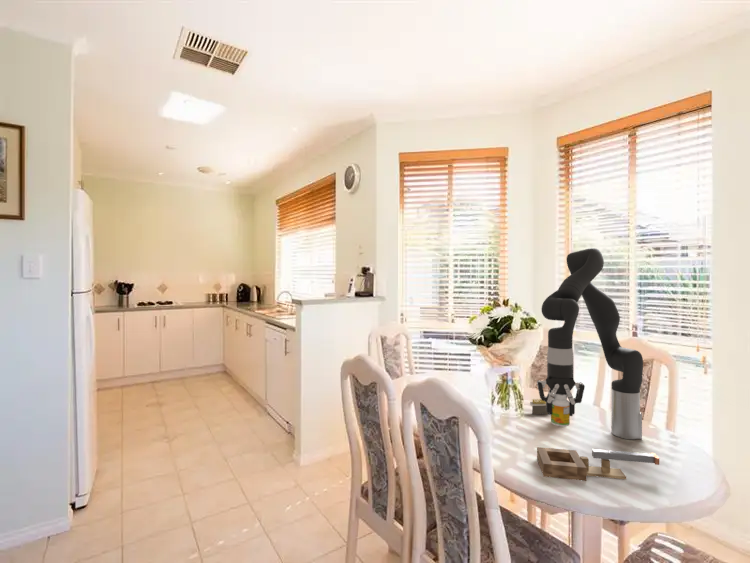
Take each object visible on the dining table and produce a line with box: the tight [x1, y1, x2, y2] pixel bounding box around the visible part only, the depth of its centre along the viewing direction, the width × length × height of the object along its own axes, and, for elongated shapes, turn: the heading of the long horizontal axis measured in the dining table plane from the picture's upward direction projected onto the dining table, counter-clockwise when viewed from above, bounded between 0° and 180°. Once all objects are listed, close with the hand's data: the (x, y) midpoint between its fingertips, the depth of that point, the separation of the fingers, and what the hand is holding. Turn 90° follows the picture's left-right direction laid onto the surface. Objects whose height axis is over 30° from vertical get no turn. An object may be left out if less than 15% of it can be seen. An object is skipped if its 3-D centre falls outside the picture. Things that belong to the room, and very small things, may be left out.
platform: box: [529, 398, 547, 415], centre depth 177 cm, size 12×18×7 cm, turn 91°
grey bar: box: [591, 448, 660, 466], centre depth 122 cm, size 18×4×2 cm, turn 77°
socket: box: [536, 446, 587, 482], centre depth 127 cm, size 12×12×4 cm
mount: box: [579, 455, 627, 480], centre depth 124 cm, size 12×5×4 cm, turn 77°
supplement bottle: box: [550, 394, 571, 428], centre depth 126 cm, size 5×5×10 cm
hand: (560, 414), depth 126 cm, fingers closed on supplement bottle, 5 cm apart
